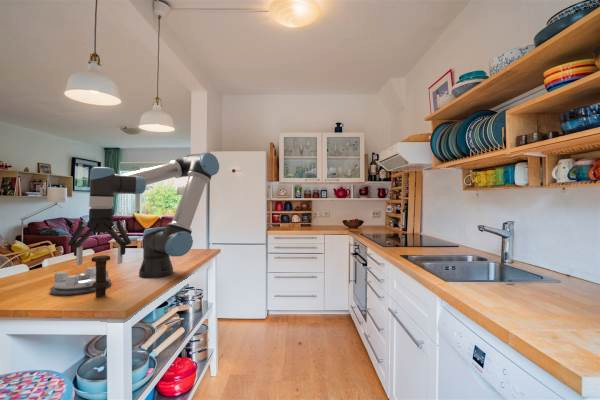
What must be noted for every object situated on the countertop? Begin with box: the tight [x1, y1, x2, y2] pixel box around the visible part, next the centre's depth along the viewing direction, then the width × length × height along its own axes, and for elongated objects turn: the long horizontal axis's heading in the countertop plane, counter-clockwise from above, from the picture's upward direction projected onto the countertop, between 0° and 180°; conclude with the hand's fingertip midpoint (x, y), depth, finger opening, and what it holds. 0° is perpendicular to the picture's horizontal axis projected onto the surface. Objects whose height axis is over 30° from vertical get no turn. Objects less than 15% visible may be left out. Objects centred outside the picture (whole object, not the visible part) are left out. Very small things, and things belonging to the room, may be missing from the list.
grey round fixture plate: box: [52, 266, 109, 291], centre depth 118 cm, size 18×18×5 cm
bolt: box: [91, 254, 111, 298], centre depth 108 cm, size 6×5×15 cm
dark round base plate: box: [49, 278, 112, 297], centre depth 118 cm, size 20×20×2 cm
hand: (99, 264), depth 108 cm, fingers open, 13 cm apart
